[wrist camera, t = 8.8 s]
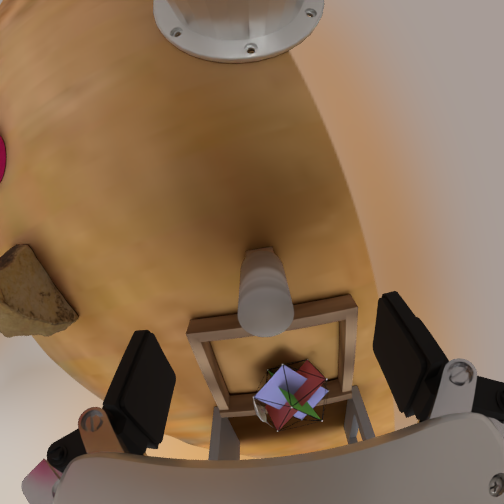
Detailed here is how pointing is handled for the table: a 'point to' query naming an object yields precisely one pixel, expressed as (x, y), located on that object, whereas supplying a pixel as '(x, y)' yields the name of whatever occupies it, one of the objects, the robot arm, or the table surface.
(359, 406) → the open box
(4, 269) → the rock
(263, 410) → the geometric puzzle
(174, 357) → the table surface
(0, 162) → the pepper mill
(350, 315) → the brown open frame
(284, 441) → the table surface
